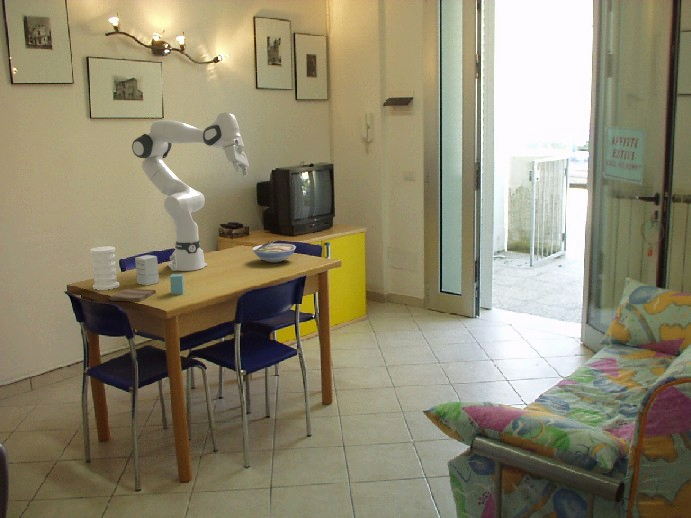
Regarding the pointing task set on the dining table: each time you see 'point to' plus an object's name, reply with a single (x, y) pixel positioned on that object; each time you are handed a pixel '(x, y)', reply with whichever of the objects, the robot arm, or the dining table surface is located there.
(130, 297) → the walnut board
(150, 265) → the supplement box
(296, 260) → the dining table surface
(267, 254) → the ramen bowl
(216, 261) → the dining table surface
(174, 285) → the teal block
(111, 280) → the decorative container
